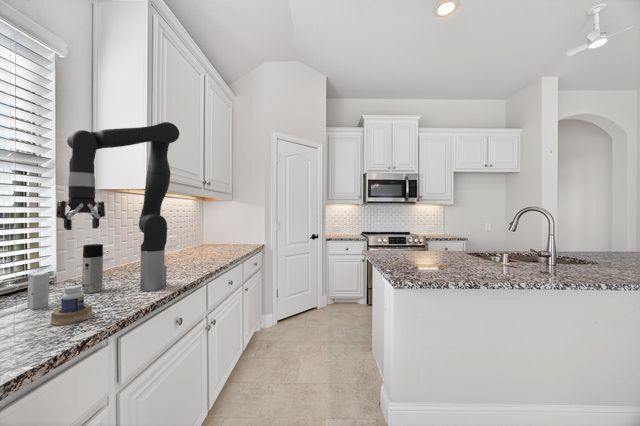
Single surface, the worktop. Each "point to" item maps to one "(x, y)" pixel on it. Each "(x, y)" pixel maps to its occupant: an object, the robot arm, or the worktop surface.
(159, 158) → the robot arm
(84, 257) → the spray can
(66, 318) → the collar
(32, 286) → the skincare box
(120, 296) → the worktop surface
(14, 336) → the worktop surface
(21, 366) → the worktop surface
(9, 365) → the worktop surface
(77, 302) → the pill bottle
